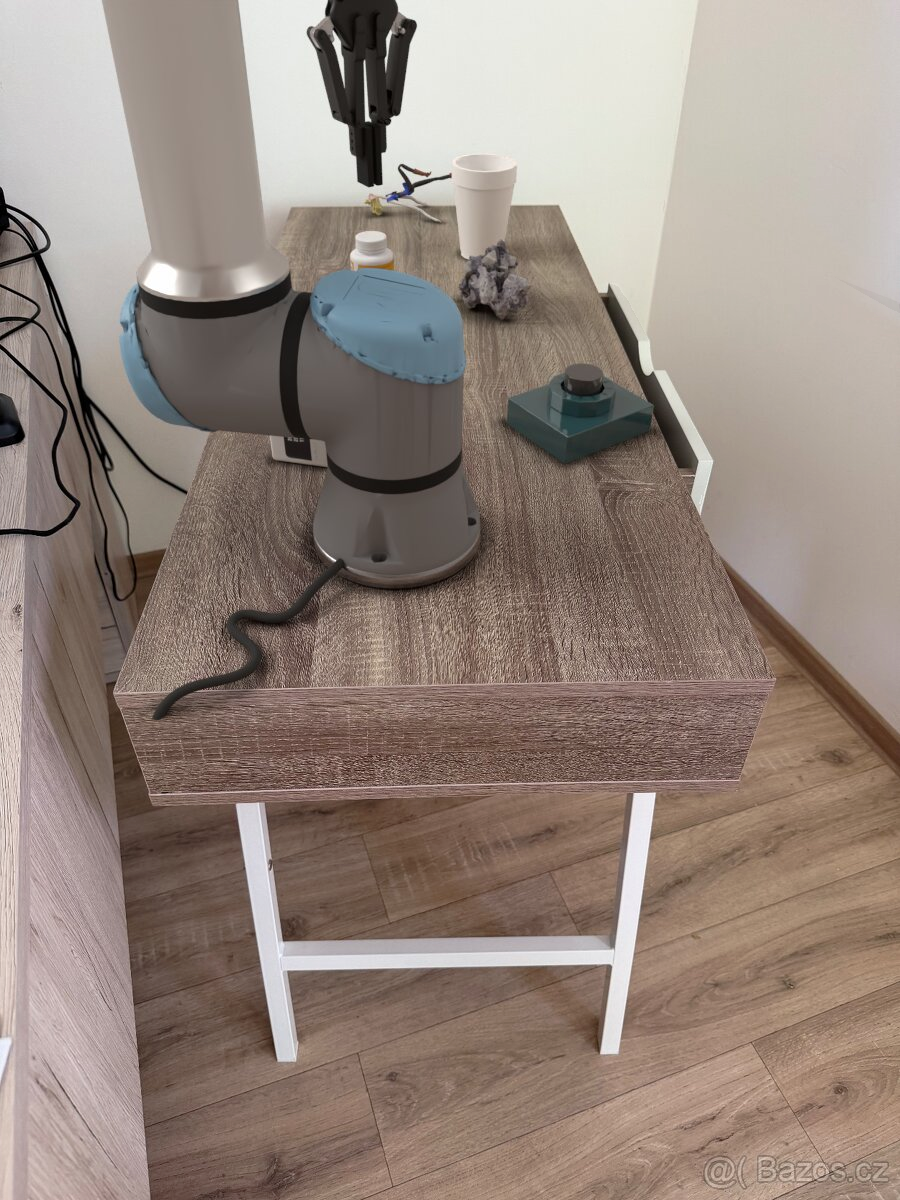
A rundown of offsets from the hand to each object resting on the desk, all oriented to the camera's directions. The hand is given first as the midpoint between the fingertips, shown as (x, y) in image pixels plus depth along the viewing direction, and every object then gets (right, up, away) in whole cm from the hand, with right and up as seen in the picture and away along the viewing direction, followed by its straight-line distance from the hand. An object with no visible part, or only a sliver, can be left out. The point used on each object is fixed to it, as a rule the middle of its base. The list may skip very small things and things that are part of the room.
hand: (370, 183), depth 112 cm
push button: (+24, -28, -14) cm, 40 cm away
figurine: (+3, +14, +42) cm, 44 cm away
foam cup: (+15, +2, +28) cm, 32 cm away
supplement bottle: (0, -13, +11) cm, 17 cm away
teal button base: (+24, -32, -12) cm, 41 cm away
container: (-4, -35, -15) cm, 38 cm away
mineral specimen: (+15, -11, +13) cm, 23 cm away
